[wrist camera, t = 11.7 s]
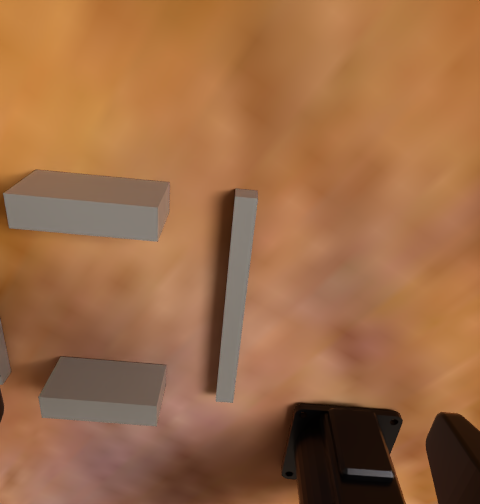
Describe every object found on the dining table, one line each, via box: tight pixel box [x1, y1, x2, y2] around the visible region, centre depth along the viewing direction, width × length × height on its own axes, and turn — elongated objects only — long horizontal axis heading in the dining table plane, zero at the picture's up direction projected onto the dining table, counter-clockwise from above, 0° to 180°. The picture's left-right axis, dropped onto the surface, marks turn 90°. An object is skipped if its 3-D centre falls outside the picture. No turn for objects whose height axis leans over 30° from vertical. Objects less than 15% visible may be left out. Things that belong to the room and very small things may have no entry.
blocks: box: [0, 170, 258, 426], centre depth 21 cm, size 12×14×3 cm
